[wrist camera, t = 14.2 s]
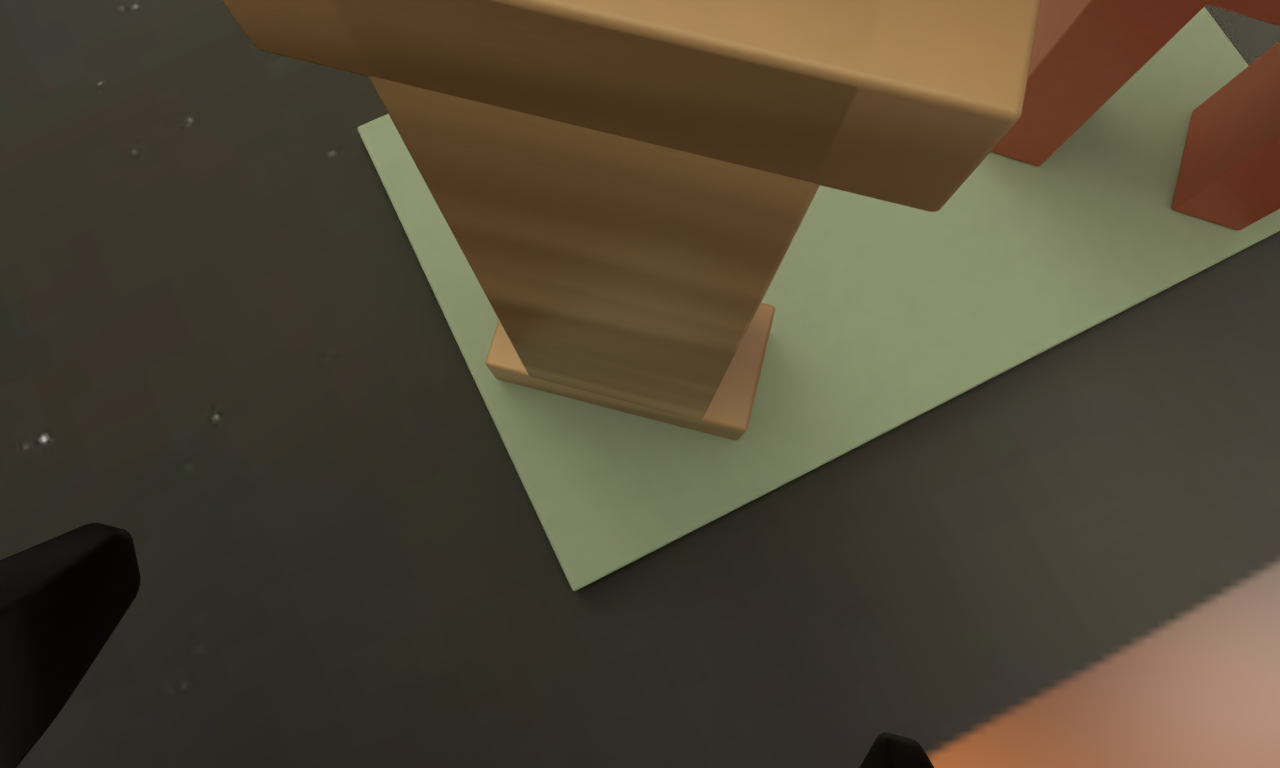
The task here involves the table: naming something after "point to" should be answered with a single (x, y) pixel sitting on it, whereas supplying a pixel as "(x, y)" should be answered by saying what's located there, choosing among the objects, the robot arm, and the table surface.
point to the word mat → (861, 312)
